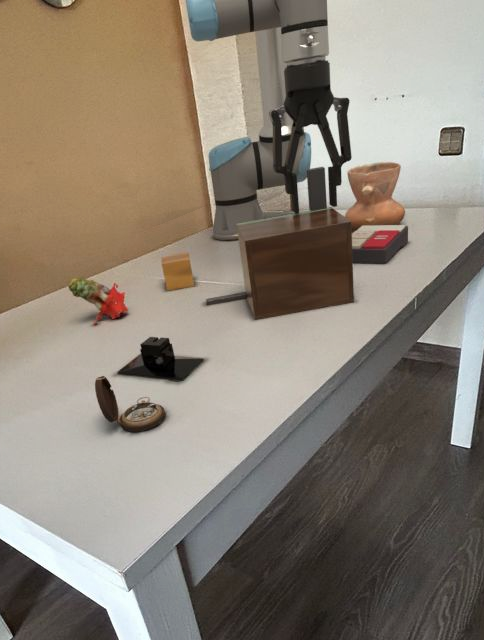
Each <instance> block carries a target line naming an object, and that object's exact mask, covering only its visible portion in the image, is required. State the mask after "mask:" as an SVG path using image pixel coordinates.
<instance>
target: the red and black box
mask: <svg viewBox="0 0 484 640" xmlns="http://www.w3.org/2000/svg"><path fill="white" fill-rule="evenodd" d="M408 243H409V226H408V225H405V224H397V225H371V226H361V227H360V228H359V229H358V230H357V231H355V230H354V231H352V257H353V264H382V265H384V264H387V263H388V262H389V261H390V260H391V258H393V257H394V255H395V254H396V253H397V252H398V251H399V250H400V249H401V248H404V247H405V246H406V245H407V244H408Z"/></svg>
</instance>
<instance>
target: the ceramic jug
mask: <svg viewBox="0 0 484 640" xmlns="http://www.w3.org/2000/svg"><path fill="white" fill-rule="evenodd" d="M401 168H402V165H401V163H398V162H393V161H379V162H372V163H365V164H362V165H357V166H354V167H351V168H350V169H348V170H347V180H348V183H349V186H350V189H351V191H352V194H353V196H354V199H355V200H356V201H355V203H354V204H353V205H352V206H351V207H350V208H349V209H348V210H347V211H346V213H345V214H344V217H346V218H347V219H349V220H350V221H351V225H352V231H354V232H355V231H357V230H358V229H359V228H360V227H361V226H371V225H399V224H400V223H401V222H402V221H403V220H404V218H405V216H406V210H405V207H404V206H403V205H402V204H401V203H400V202H398V201H396V200H395V199H393V198H392V196H393V194H394V191H395V189H396V186H397V183H398V181H399V178H400V173H401Z"/></svg>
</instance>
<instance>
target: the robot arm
mask: <svg viewBox="0 0 484 640" xmlns="http://www.w3.org/2000/svg"><path fill="white" fill-rule="evenodd" d="M185 4H186V11H187V19H188V24H189V30H190V36H191V38H192V40H193V41H194V42H198V43H199V42H205V41H207V42H208V41H209V42H213V41H216V40H218V39H224V38H229V37H234V36H239V35H244V34H249V33H254V34H255V45H256V46H255V47H256V54H257V56H256V57H257V66H258V67H257V68H258V77H259V85H260V86H259V88H260V98H261V109H262V119H263V120H262V121H263V124H262V127H261V129H260V130H259V131H258V140H257V141H252V139H251V137H250V136H243V137H240V138H239V137H238V138H235V139H233V140H229V141H227V142H226V141H225V142H224V143H220V144H218V145H216V146H214V147H213V148H211V149H210V151H209V152H208V164H209V168H208V170H209V172H210V177H211V178H210V179H211V185H212V191H213V198H214V204H215V212H214V219H213V225H212V226H213V227H212V234H213V238H214V240H215V239H216V240H219V241H235V240H239V239H238V232H237V224H239V223H244V222H250V221H255V220H261V219H266V217H265V215H264V213H263V209H262V208H261V205H260V203H259V200H258V193H257V192H258V191H259V190H264V189H272V188H277V187H282V186H284V191H285V194H287V195H290V197H291V209H292V212H293V214H294V213H299V212H300V203H299V188H298V184H299V183H302V182H304V181H306V180H307V169H311V164H312V138H311V134H309V132H306V131H305V127H309V126H311V125H313V126H317V128H318V129H319V132H320V135H321V137H322V140H323V143H324V146H325V148H326V151H327V155H328V156H329V160H330V162H331V166H328V167H327V178H328V179H327V180H328V203H329V206H330V207H332V208H335V207H338V193H337V192H338V191H337V189H338V188H337V187H339V186H342V181H343V180H342V167H343V165H344V164H346V163H347V162H349V161H351V160H352V157H353V155H352V147H351V136H350V128H349V127H350V126H349V118H348V117H349V115H348V111H349V106H350V98H348V97H337V96H336V97H335V96H334V94H333V92H332V89H331V66H330V65H331V62H329V60H326V57H328V56H329V54H330V43H329V21H328V0H185ZM332 106H333V109H334V111H335V112H336V121H337V130H338V140H339V147H340V152H339V151H338V148H337V145H336V142H335V139H334V135H333V133H332V131H331V128H330V123H329V120H328V118H327V115H328V113H329V111H330V109H332V108H331V107H332Z"/></svg>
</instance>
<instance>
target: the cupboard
mask: <svg viewBox="0 0 484 640" xmlns="http://www.w3.org/2000/svg"><path fill="white" fill-rule="evenodd" d="M237 230H238V237H239V239H238V245H239V244H240V246H239V253H240V252H241V254H240V260H241V259H242V261H241V267H242V266H243V268H242V275H243V274H244V276H243V281H245V283H244V289H245V288H246V290H245V291H242V292H237V293H231V294H226V295H220V296H215V297H209V298H206V299H205V302H206V305H207V306H210V305H216V304H221V303H226V302H232V301H238V300H242V299H246V300H247V302H248V305H249V307H250V310H251V313H252V315H253V319H254V320H255V321H256V320H261V319H266V318H272V317H277V316H283V315H289V314H295V313H298V312H299V313H300V312H304V311H305V312H306V311H311V310H317V309H322V308H328V307H332V306H338V305H339V306H340V305H345V304H350V303H354V302H355V293H354V291H355V290H354V289H355V288H354V263H353V257H352V233H353V230H352V225H351V221H350V220H349V219H347V218H346V217H345V215H343V214H342V213H340V212H339V211H338V210H336V209H334V207H332V209H327V210H321V211H316V212H310V213H305V214H299V215H294V216H288V217H283V218H277V219H272V220H266V221H260V222H255V223H249V224H244V225H238V226H237Z"/></svg>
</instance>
